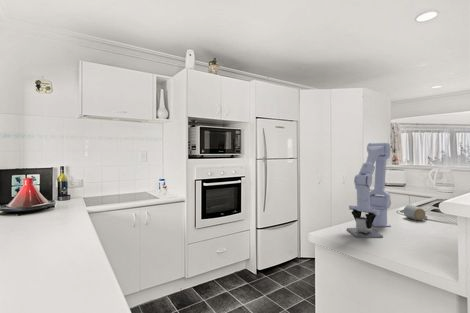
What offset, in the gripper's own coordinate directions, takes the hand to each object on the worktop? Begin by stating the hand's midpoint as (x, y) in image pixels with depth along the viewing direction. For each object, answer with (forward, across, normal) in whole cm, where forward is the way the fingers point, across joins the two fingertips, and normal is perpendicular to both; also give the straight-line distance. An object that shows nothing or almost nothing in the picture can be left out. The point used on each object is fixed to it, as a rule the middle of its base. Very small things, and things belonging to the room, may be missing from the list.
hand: (363, 226), depth 124 cm
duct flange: (+3, 0, 0) cm, 3 cm away
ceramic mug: (+3, +3, +46) cm, 46 cm away
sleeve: (+2, 0, 0) cm, 2 cm away
